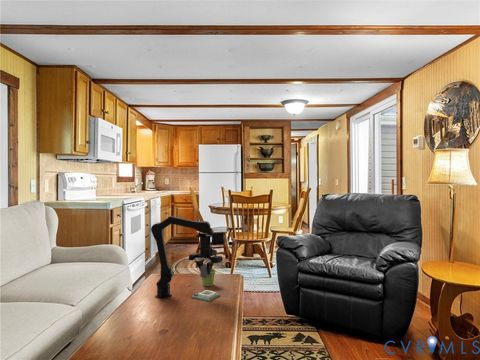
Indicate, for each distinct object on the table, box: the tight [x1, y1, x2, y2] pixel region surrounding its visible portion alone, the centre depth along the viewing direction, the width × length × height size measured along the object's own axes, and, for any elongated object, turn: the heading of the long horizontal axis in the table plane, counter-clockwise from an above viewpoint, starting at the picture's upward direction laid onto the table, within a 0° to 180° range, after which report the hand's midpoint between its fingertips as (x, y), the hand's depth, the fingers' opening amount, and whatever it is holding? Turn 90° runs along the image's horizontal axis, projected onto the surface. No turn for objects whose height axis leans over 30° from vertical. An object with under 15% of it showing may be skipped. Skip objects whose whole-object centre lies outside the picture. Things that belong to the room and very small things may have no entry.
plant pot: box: [201, 268, 217, 287], centre depth 207 cm, size 9×9×9 cm
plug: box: [199, 263, 211, 278], centre depth 188 cm, size 4×4×6 cm
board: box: [191, 289, 220, 302], centre depth 187 cm, size 10×11×2 cm
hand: (205, 274), depth 188 cm, fingers closed on plug, 4 cm apart
